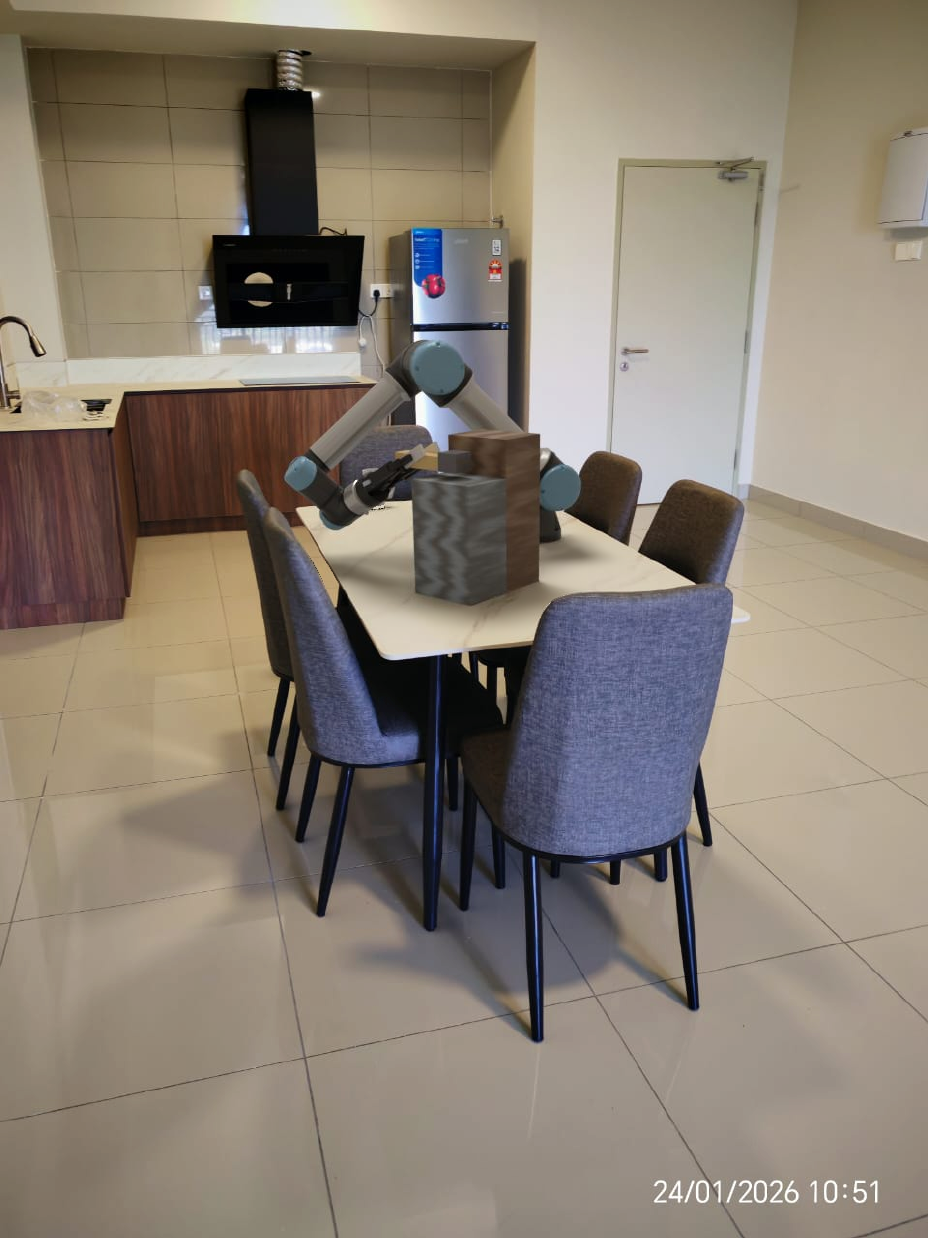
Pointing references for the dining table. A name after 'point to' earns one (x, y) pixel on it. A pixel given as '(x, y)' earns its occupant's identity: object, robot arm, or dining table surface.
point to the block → (442, 461)
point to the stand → (479, 519)
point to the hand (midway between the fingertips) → (430, 448)
